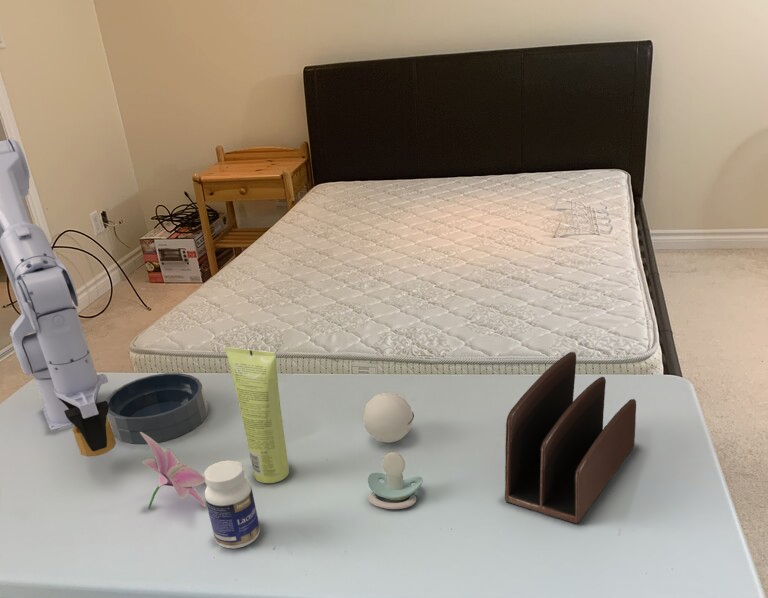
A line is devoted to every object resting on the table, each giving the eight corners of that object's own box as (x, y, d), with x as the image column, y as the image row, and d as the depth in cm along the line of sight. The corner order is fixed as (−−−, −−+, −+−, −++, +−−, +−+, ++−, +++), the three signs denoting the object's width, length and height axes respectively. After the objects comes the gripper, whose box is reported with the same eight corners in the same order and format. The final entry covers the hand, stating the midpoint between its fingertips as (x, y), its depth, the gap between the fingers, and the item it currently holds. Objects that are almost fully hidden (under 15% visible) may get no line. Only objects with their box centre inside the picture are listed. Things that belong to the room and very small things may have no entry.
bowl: (96, 426, 124) (88, 399, 122) (176, 390, 133) (170, 365, 131) (143, 457, 115) (134, 429, 112) (226, 416, 123) (220, 389, 121)
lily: (181, 545, 97) (204, 478, 95) (97, 509, 97) (118, 443, 95) (214, 513, 109) (234, 453, 106) (138, 481, 109) (158, 421, 107)
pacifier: (415, 515, 97) (426, 487, 101) (410, 475, 93) (423, 448, 98) (360, 508, 99) (375, 481, 104) (355, 470, 96) (370, 443, 100)
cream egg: (409, 453, 109) (405, 409, 105) (359, 450, 111) (354, 406, 107) (423, 418, 117) (420, 376, 113) (377, 416, 119) (372, 374, 115)
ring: (77, 445, 112) (70, 424, 110) (111, 434, 114) (104, 413, 112) (83, 460, 108) (76, 438, 106) (119, 448, 110) (112, 427, 108)
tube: (289, 460, 110) (267, 337, 100) (297, 478, 106) (275, 351, 96) (251, 470, 109) (224, 346, 99) (258, 489, 105) (231, 361, 95)
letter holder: (503, 502, 97) (502, 406, 90) (567, 430, 111) (570, 342, 103) (578, 526, 92) (582, 426, 85) (635, 447, 105) (643, 355, 98)
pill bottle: (251, 551, 93) (236, 485, 88) (208, 548, 94) (191, 483, 89) (267, 522, 98) (253, 458, 93) (225, 520, 99) (210, 456, 94)
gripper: (108, 365, 99) (135, 452, 106) (87, 331, 110) (112, 412, 117) (52, 381, 96) (83, 469, 103) (36, 344, 108) (65, 426, 114)
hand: (95, 440), depth 110 cm, fingers closed on ring, 5 cm apart
